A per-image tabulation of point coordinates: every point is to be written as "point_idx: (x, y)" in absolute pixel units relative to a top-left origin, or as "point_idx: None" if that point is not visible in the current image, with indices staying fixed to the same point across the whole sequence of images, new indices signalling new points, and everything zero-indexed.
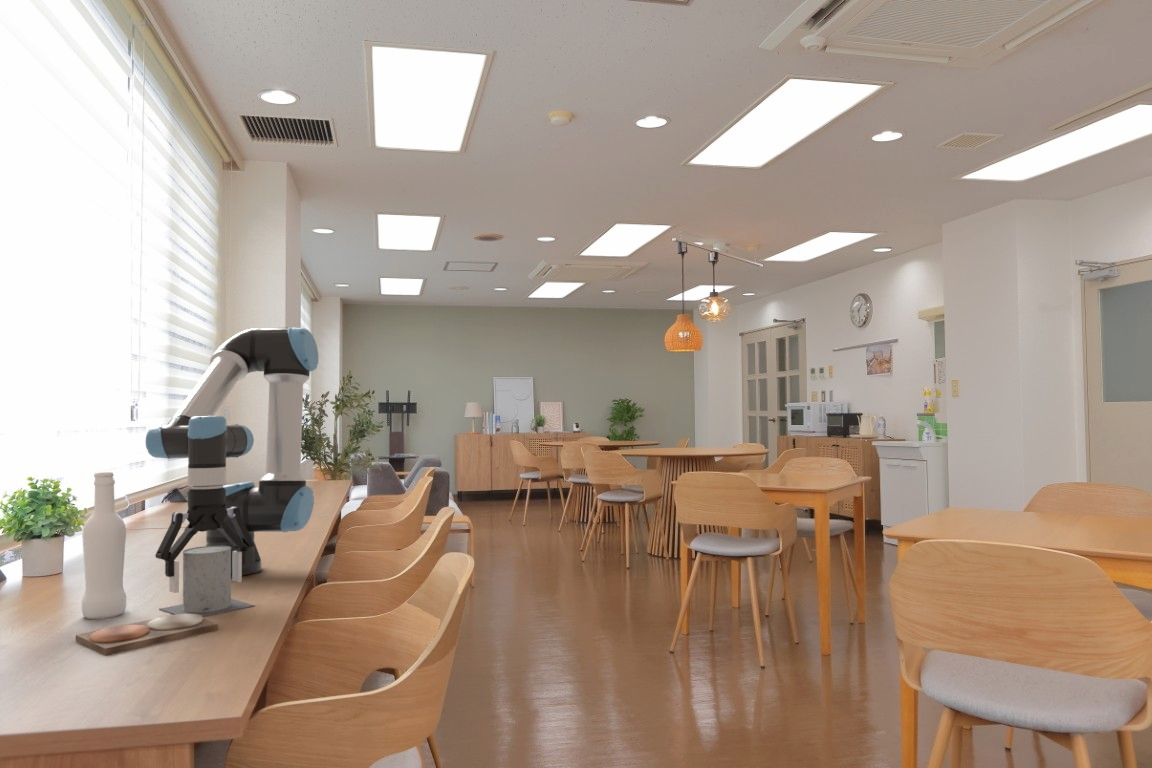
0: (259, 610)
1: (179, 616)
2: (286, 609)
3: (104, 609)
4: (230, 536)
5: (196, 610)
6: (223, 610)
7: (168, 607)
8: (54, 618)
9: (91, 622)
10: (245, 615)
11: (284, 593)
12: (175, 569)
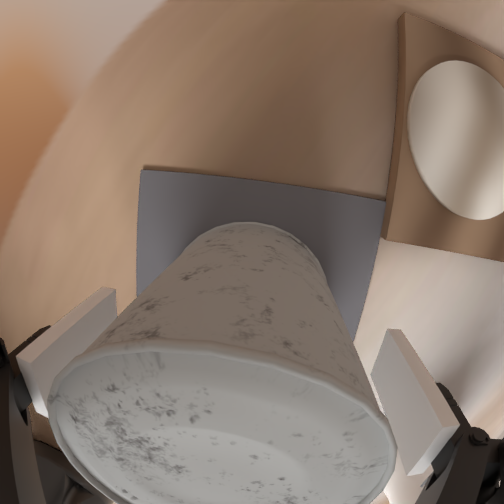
0: (170, 99)
1: (453, 167)
2: (123, 45)
3: None
4: (6, 468)
5: (319, 266)
6: (248, 200)
7: None
8: None
9: (462, 398)
10: (242, 77)
11: (23, 245)
12: (441, 394)
